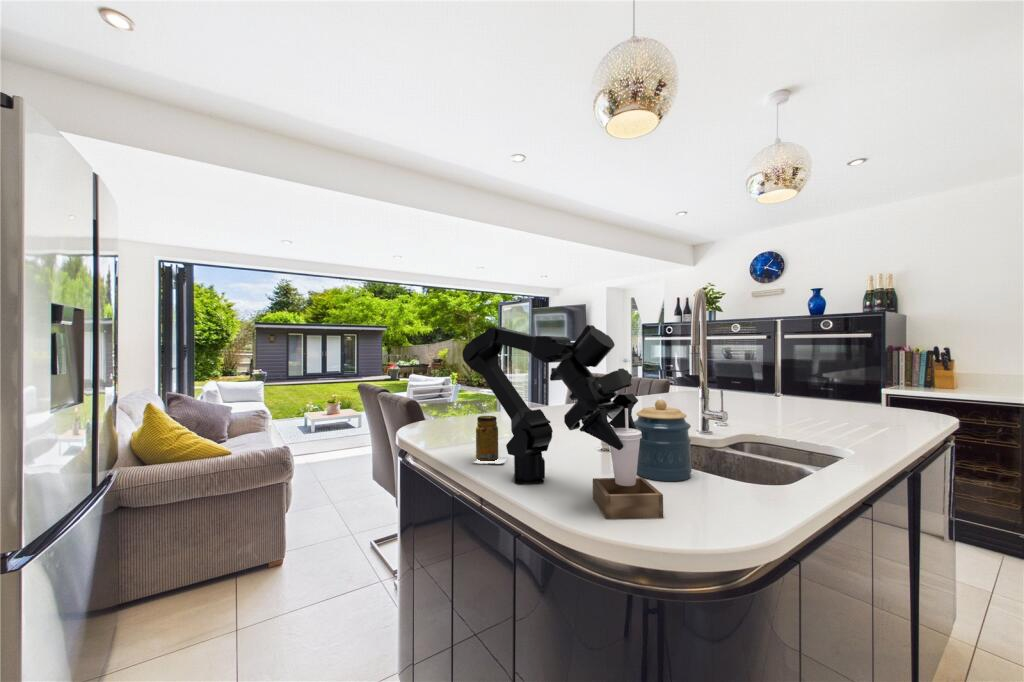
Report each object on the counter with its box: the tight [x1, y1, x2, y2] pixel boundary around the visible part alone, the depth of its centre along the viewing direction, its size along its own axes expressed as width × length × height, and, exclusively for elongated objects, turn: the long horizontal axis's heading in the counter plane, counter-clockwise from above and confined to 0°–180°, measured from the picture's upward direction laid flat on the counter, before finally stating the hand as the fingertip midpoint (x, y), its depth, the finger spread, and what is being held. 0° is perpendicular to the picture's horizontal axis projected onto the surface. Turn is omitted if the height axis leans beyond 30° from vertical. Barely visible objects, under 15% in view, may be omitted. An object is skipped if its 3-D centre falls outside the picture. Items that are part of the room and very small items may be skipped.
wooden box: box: [592, 476, 665, 520], centre depth 77 cm, size 10×10×4 cm
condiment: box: [475, 415, 499, 461], centre depth 111 cm, size 7×8×12 cm
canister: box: [633, 399, 693, 482], centre depth 98 cm, size 13×13×18 cm
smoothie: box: [609, 408, 642, 486], centre depth 77 cm, size 6×6×14 cm
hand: (630, 445), depth 76 cm, fingers closed on smoothie, 6 cm apart
